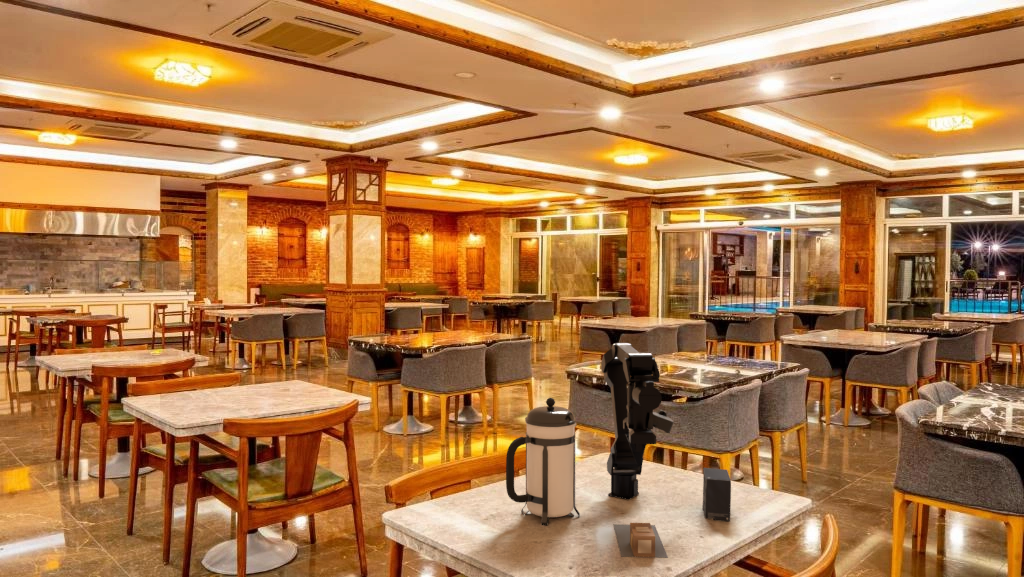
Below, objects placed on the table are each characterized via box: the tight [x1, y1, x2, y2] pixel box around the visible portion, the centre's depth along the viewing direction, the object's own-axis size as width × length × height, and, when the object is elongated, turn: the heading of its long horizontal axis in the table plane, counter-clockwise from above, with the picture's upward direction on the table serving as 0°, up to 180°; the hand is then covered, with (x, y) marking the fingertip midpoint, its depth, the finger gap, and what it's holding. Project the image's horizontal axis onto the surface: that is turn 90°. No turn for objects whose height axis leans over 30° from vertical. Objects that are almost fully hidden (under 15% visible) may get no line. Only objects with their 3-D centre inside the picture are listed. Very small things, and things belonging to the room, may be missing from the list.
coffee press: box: [505, 397, 581, 527], centre depth 178 cm, size 17×16×30 cm
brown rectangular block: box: [629, 522, 655, 558], centre depth 156 cm, size 5×5×8 cm
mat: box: [613, 523, 669, 559], centre depth 162 cm, size 20×10×1 cm, turn 177°
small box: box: [701, 467, 732, 522], centre depth 181 cm, size 11×6×10 cm, turn 168°
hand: (638, 463), depth 180 cm, fingers closed
